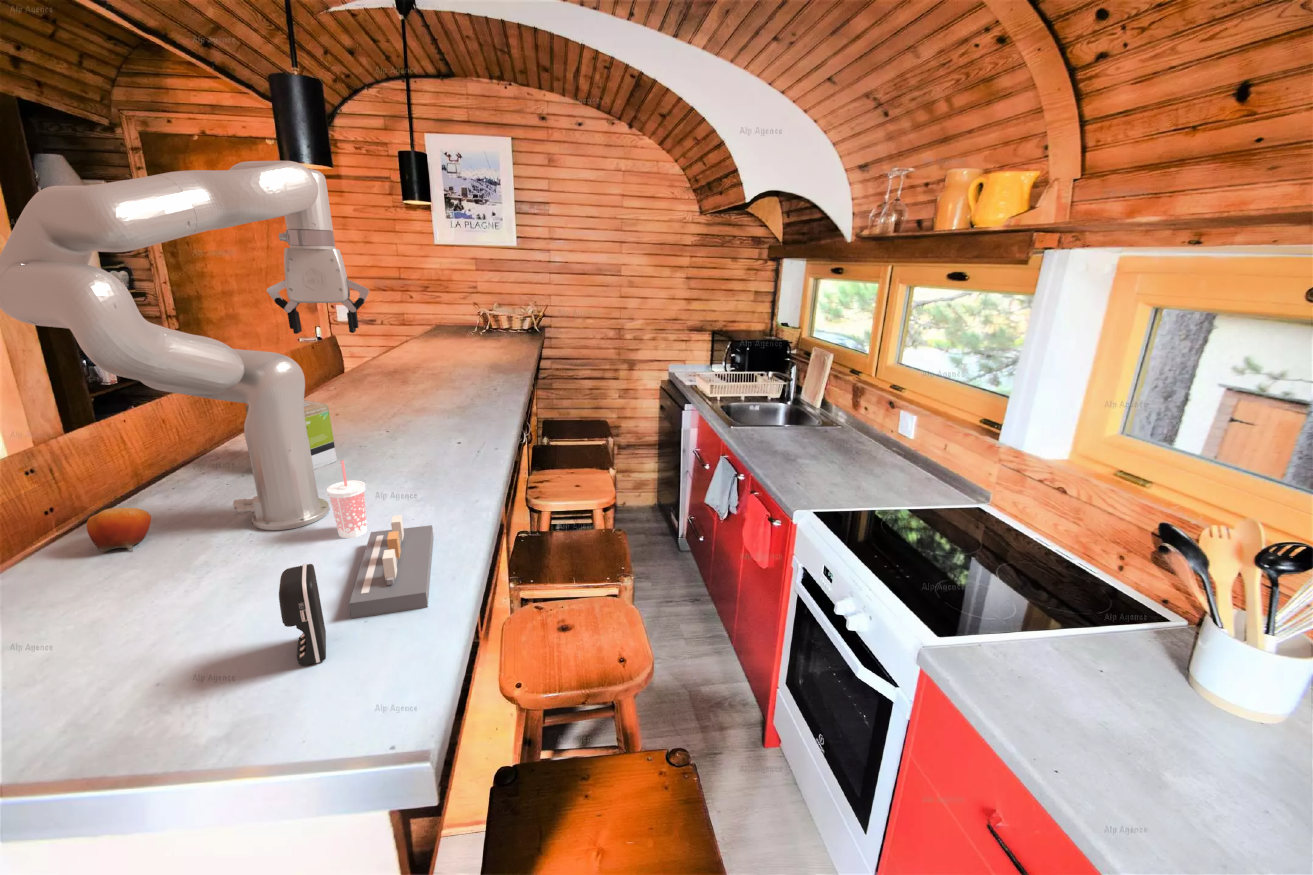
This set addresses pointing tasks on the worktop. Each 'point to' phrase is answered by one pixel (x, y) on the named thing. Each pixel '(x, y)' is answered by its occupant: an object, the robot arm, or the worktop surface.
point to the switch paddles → (393, 549)
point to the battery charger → (303, 612)
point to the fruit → (118, 528)
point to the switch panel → (410, 577)
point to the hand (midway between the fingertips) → (325, 332)
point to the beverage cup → (348, 506)
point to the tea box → (318, 433)
